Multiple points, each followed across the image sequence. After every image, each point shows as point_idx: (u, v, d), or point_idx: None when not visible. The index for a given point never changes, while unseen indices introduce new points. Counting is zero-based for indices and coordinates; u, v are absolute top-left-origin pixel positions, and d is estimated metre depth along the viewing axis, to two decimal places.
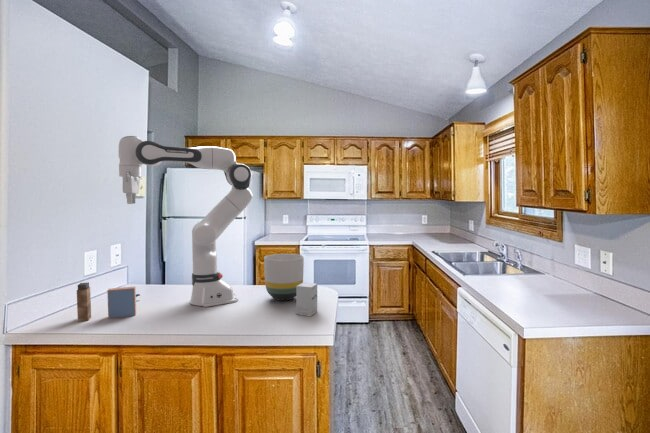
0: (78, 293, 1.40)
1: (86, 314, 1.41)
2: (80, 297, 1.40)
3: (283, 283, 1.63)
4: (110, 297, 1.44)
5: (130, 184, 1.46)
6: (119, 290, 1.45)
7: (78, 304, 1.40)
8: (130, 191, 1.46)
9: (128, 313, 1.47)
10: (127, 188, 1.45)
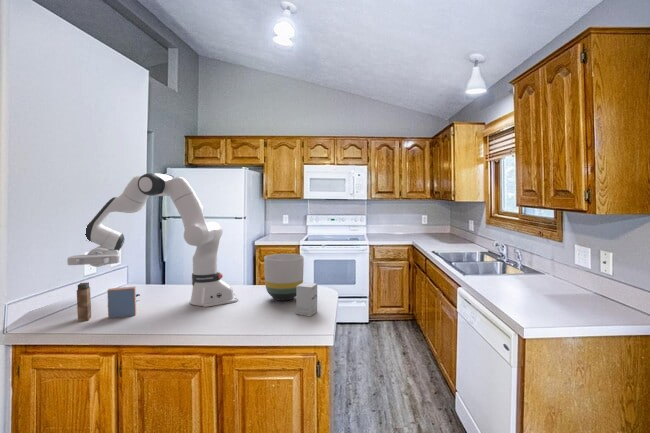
0: (78, 293, 1.40)
1: (86, 314, 1.41)
2: (80, 297, 1.40)
3: (283, 283, 1.63)
4: (110, 297, 1.44)
5: None
6: (119, 290, 1.45)
7: (78, 304, 1.40)
8: (67, 259, 1.55)
9: (128, 313, 1.47)
10: None
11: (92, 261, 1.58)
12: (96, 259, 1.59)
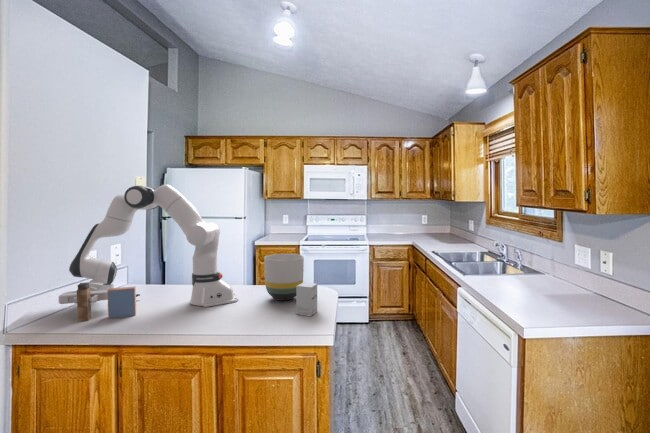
0: (78, 293, 1.40)
1: (86, 314, 1.41)
2: (80, 297, 1.40)
3: (283, 283, 1.63)
4: (110, 297, 1.44)
5: None
6: (119, 290, 1.45)
7: (78, 304, 1.40)
8: (59, 297, 1.43)
9: (128, 313, 1.47)
10: None
11: None
12: (90, 296, 1.48)
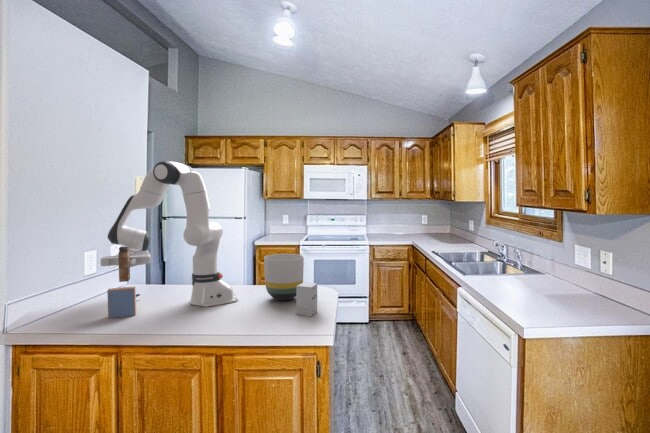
0: (120, 255, 1.51)
1: (127, 275, 1.52)
2: (122, 259, 1.51)
3: (283, 283, 1.63)
4: (110, 297, 1.44)
5: None
6: (119, 290, 1.45)
7: (119, 265, 1.51)
8: (101, 259, 1.54)
9: (128, 313, 1.47)
10: None
11: None
12: None
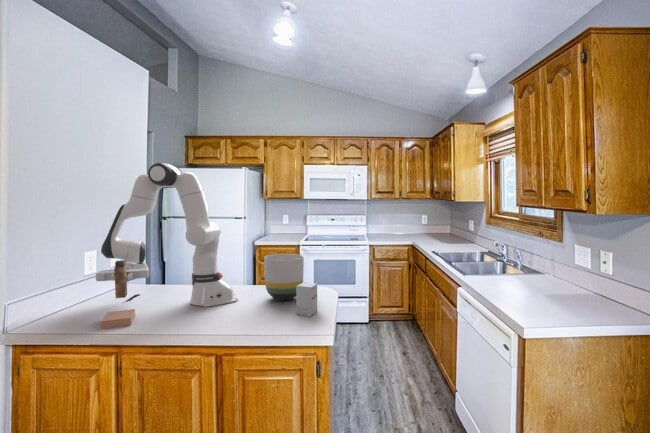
0: (116, 270, 1.42)
1: (123, 291, 1.44)
2: (118, 274, 1.43)
3: (283, 283, 1.63)
4: None
5: None
6: None
7: (115, 281, 1.43)
8: (96, 274, 1.46)
9: None
10: None
11: None
12: None
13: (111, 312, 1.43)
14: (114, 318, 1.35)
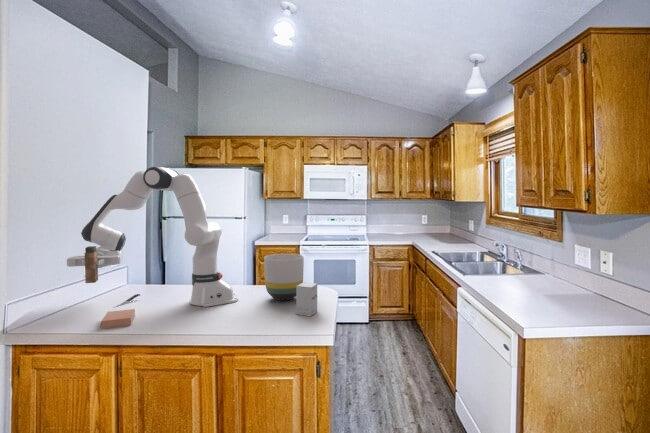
0: (86, 255, 1.45)
1: (93, 276, 1.46)
2: (88, 259, 1.45)
3: (283, 283, 1.63)
4: None
5: None
6: None
7: (85, 266, 1.45)
8: (67, 259, 1.48)
9: None
10: None
11: None
12: None
13: (111, 312, 1.43)
14: (114, 318, 1.35)
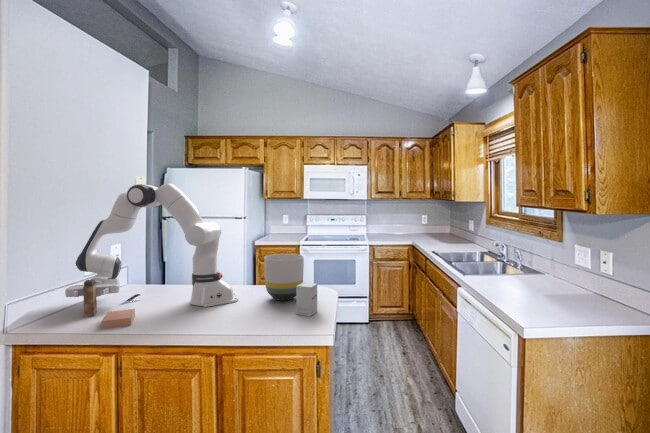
0: (84, 290, 1.45)
1: (92, 310, 1.47)
2: (87, 293, 1.46)
3: (283, 283, 1.63)
4: None
5: None
6: None
7: (84, 300, 1.45)
8: (65, 290, 1.48)
9: None
10: None
11: None
12: None
13: (111, 312, 1.43)
14: (114, 318, 1.35)
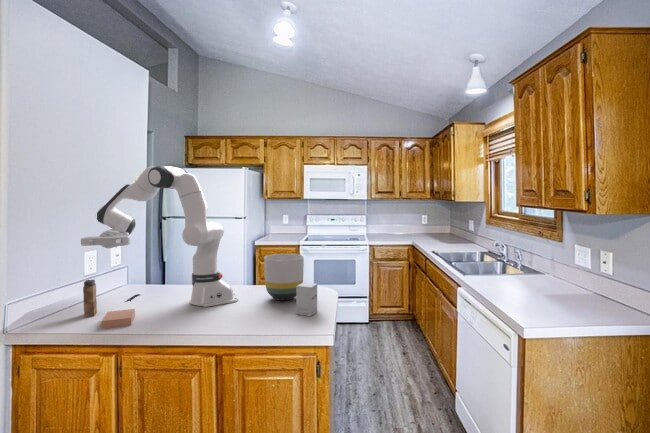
0: (84, 290, 1.45)
1: (92, 310, 1.47)
2: (87, 293, 1.46)
3: (283, 283, 1.63)
4: None
5: None
6: None
7: (84, 300, 1.45)
8: (81, 239, 1.60)
9: None
10: None
11: (104, 242, 1.64)
12: (108, 240, 1.65)
13: (111, 312, 1.43)
14: (114, 318, 1.35)
